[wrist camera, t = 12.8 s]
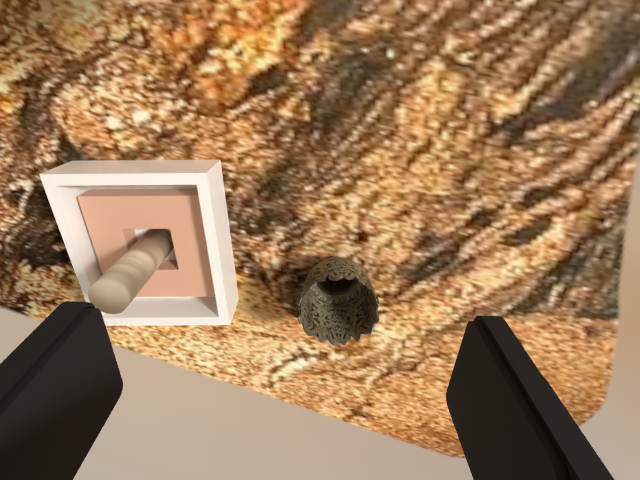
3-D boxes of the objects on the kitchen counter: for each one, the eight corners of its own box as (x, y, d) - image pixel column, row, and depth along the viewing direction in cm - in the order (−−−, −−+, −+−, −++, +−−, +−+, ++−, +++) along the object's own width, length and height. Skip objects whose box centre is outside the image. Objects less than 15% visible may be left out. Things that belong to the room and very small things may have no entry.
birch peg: (141, 226, 36) (82, 282, 27) (171, 226, 36) (122, 281, 27) (148, 253, 37) (94, 314, 28) (177, 253, 37) (132, 314, 28)
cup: (366, 297, 41) (375, 347, 34) (301, 295, 41) (297, 345, 34) (372, 238, 38) (384, 280, 31) (302, 236, 38) (297, 277, 30)
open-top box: (72, 160, 34) (39, 174, 30) (220, 159, 34) (206, 172, 30) (116, 299, 41) (94, 325, 37) (238, 299, 41) (229, 325, 37)
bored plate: (89, 189, 34) (77, 196, 33) (205, 188, 34) (199, 195, 32) (119, 286, 39) (109, 297, 37) (220, 285, 39) (215, 296, 37)
